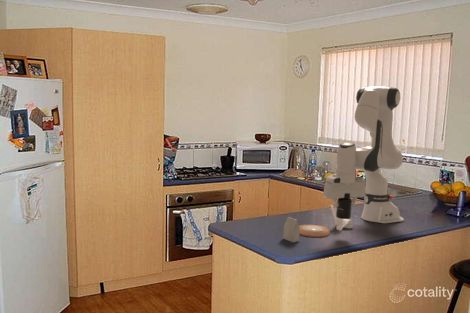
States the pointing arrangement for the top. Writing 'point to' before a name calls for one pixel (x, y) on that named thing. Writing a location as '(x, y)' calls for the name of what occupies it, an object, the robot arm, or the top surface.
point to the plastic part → (341, 221)
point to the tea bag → (291, 230)
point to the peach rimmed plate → (314, 230)
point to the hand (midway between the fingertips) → (344, 206)
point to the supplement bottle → (344, 207)
